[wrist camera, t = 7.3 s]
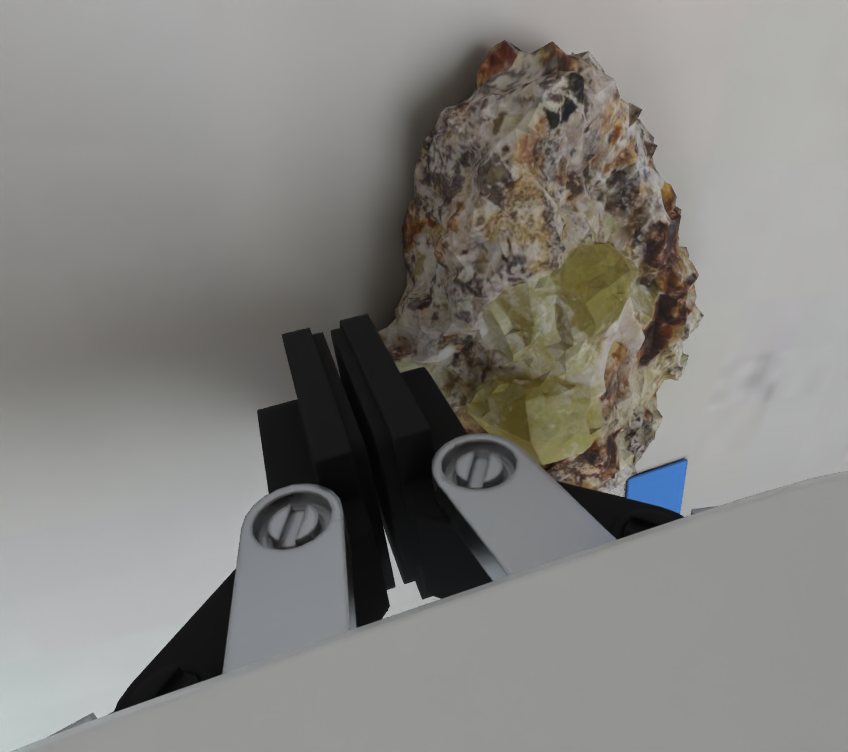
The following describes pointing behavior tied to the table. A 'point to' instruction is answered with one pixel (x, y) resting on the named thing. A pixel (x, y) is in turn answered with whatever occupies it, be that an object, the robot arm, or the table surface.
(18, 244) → the table surface
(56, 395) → the table surface
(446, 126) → the mineral rock
